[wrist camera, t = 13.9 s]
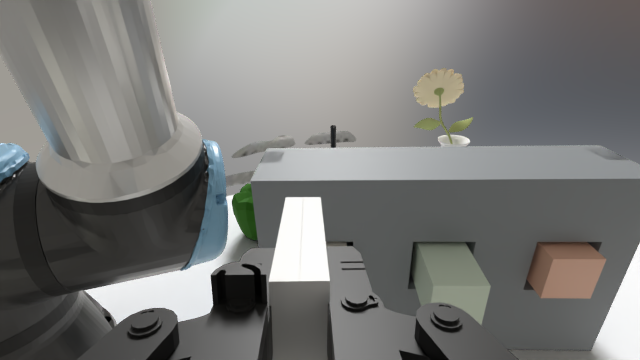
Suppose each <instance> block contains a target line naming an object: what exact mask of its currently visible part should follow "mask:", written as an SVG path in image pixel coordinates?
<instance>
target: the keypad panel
mask: <svg viewBox="0 0 640 360" xmlns="http://www.w3.org/2000/svg"><path fill="white" fill-rule="evenodd" d="M251 189H252V197H253V205H254V214H255V222H256V230H257V238H258V247H259V248H276V243H277V238H278V233H279V228H280V223H281V218H282V213H283V208H284V203H285V198H286V197H321V205H322V214H323V223H324V232H325V241H326V242H346V243H347V246H353V247H354V248H355V249H356V250H357V251H359V252H360V253H361V256H362V260H363V263H364V266H365V270H366V272H367V276H368V279H369V282H370V285H371V289H372V292H373V293H375V294H376V295H377V296H379V298H380V299H381V301H382V302H383V305H384V307H385V308H386V309H389V310H391V311H393V312H397V313H400V314H405V315H410V316H415V317H416V314H417V310H418V309H419V308H420V307H421V304H420V301H419V297H418V294H417V291H416V287H415V284H414V281H413V278H412V274H411V271H410V270H411V261H412V252H413V243H414V242H465V243H466V245H467V246H468V248H469V250H470V251H471V253H472V255H473V257H474V258H475V260H476V262H477V263H478V265H479V267H480V268H481V270H482V272H483V274H484V275H485V277H486V279H487V280H488V282H489V284H490V286H491V287H490V291H489V296H488V300H487V304H486V308H485V312H484V316H483V320H482V324H481V326H482V327H484V328H485V329H486V330H487V331H488V332H489V333H490V334H491V335H492V336H493V337H494V338H495V339H497V340H498V341H499V342H500V343H501V344H502V345H503V346H504V347H505V348H506V349H523V350H591V349H592V347H593V345H594V343H595V340H596V338H597V336H598V334H599V332H600V329H601V327H602V325H603V323H604V320H605V318H606V316H607V314H608V312H609V309H610V307H611V305H612V303H613V300H614V298H615V296H616V294H617V292H618V289H619V287H620V285H621V283H622V280H623V278H624V276H625V274H626V271H627V269H628V267H629V265H630V263H631V260H632V258H633V256H634V254H635V251H636V249H637V247H638V245H639V243H640V165H639V164H637V163H635V162H633V161H631V160H629V159H627V158H625V157H623V156H621V155H619V154H616V153H614V152H612V151H610V150H608V149H606V148H604V147H602V146H600V145H571V146H570V145H569V146H568V145H567V146H566V145H565V146H465V147H368V148H366V147H365V148H267V150H266V151H265V153H264V155H263V157H262V159H261V162H260V163H259V165H258V167H257V169H256V171H255V173H254V175H253V177H252V179H251ZM537 242H587V243H589V244H590V245H591V246H592V247H593V248H594V249H595V250H596V251H598V252H599V253H600V254H601V255H602V256H603V257H604V258H606V262H605V264H604V267H603V269H602V272H601V274H600V276H599V279H598V281H597V284H596V286H595V289H594V291H593V293H592V296H591V298H590V299H584V298H540V297H539V295H538V294H537V293H536V291H535V290H534V289H533V287H532V286H531V285H530V283H529V282H528V280H527V275H528V272H529V269H530V265H531V262H532V259H533V255H534V252H535V249H536V245H537Z"/></svg>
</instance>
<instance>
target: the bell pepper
mask: <svg viewBox="0 0 640 360" xmlns="http://www.w3.org/2000/svg"><path fill="white" fill-rule="evenodd" d="M232 206H233V212H234V215H235V217H236V220H237V222H238V224H239V226H240V228H241V230H242V232H243V233H244V235H245V236H246V237H247V238H249V239H252V240H258V238H257V230H256V222H255V214H254V205H253V197H252V189H251V184H246V185H245V186H244V187H242V189H241V191H240V193H237V194H235V195H234V196H233V199H232Z"/></svg>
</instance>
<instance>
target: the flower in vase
mask: <svg viewBox="0 0 640 360" xmlns="http://www.w3.org/2000/svg"><path fill="white" fill-rule="evenodd" d="M453 73H454V70H453V69H450V70H448V71H447V69H446V68H442V69H441V70H439V71H438V70H437V69H434V70H433V71H432V72H431V73H426V74H425V75H424V76H422V77H421V80H419V81H418V82H417V85H418V86H415V87H414V88H413V92H414V93H415V94H414V96H415V97H418V98H417V99H416V101H417V102H418V103H420V104H421V105H426V104H428V107H433V108H434V107H435V108H438V107H439V118H440V122H441V125H442V127H443V128H444V130H445V132H446V133H447V135H443V136H440V137H438V140H439V142H440V144H441V146H442V147H465V146H467V145H468V144H469V143H470V140H469V139H468V138H466V137H463V136H458V135H450V134H449V132H459V131H462V130H464V129H466V128H467V127H468V126H469V125H470V123H471V121H472V119H473V117H472V118H470V119H467V120H464V121H459V122H455V123H454V124H453V125H452V126H451V127H450V129H449V132H448V131H447V129H446V127H445V126H444V124H443V122H442V118H441V106H445V105H447V104H449V103H454V102H455V99H457V98H459V97H460V94H462V93H463V92H464V90H463V88H464V83H462V81H463V78H461V77H462V75H461V74H457V73H455V74H453ZM440 122H439V121H437V120H435V119H432V118H426V119H424V120H421V121H419V122H418V123H417V124H416V125H415V126H414V127H417V128H422V129H426V130H433V129H435V128H436V127H437V126H439V125H440Z"/></svg>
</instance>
